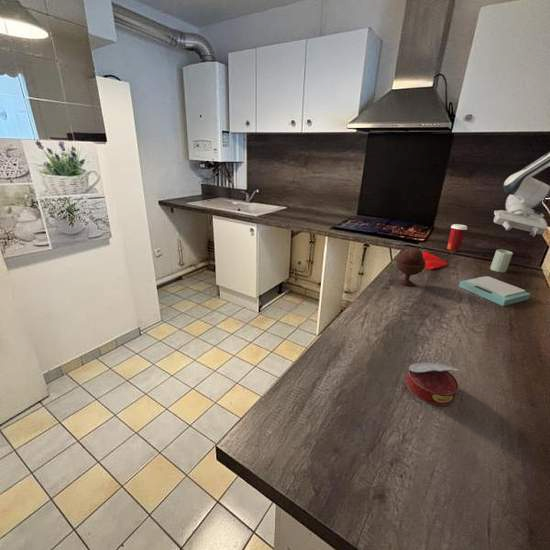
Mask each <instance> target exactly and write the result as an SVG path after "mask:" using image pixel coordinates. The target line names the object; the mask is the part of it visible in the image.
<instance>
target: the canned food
mask: <svg viewBox="0 0 550 550" xmlns="http://www.w3.org/2000/svg"><path fill="white" fill-rule="evenodd" d="M459 371H460V369H458V368H456V367H452V366H450V365H445V364H441V363H433V362H423V361H422V362H421V361H420V362H415V363H412V364H410V365H409V367H408V372H407V374H406V375H407V376H406V378H405V383H406V386H407V388H408V389H409V391H410V392H411V393H412V394H413V395H414V396H415V397H417V398H418V399H420V400H422V401H424V402H426V403H428V404H431V405H436V406H447V405H449V404H451V403H453V402H454V400H455V398H456V395H457V392H458V390H459V383H458V381H457V379H456V377H455V376H454V375H453V374H452V373H451V372H459Z"/></svg>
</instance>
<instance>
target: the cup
mask: <svg viewBox="0 0 550 550" xmlns="http://www.w3.org/2000/svg"><path fill="white" fill-rule="evenodd" d="M513 254H514V252H512V251H510V250H506V249H496V250H495V252H494V256H493V258H492V262H491V264H490V267H489V269H490V270H491V271H493V272H497V273H507V270H508V268H509V265H510V263H511V259H512V257H513Z"/></svg>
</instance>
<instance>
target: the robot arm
mask: <svg viewBox="0 0 550 550" xmlns="http://www.w3.org/2000/svg"><path fill="white" fill-rule="evenodd" d="M549 167H550V151H548V152H547V153H545V154H543V155H542V156H541V157H539V158H538V159H536V160H534V161H533V162H531V163H530V164H528V165H526V166H525V167H523V168H522V169H520V170H517V171H515V172H514V173H512V174H511V175H509V176H508V177H507V178H506V179H505V180H504V182H503V184H502V185H503V187H502V188H503V192H504V193H505V194H507V195H508V196H507V198H506V200H505V210H503V209H498V210H497V209H496V210H493V214H494V216H493V223H494V224H497V225H501V226H503V228H504V229H505V231H511V230H512V229H517V230H521V231H525V232H529V236H530V237H533V238H534V237H536V235H537V234H538V235H543V234H544V233H545V232H546V231H545V229H546V228H547V227H548V223H547V221H546V219H545V218H544V217H545V215H544V214H543V213H541V212H539V211H537V210H535V209H534V208H537V207H539V206H540V205H542V204H543V203H545V202H546V201H547V200H548V199H545V198H549V197H550V185H549V184H546V182H544V181H541V180H538V179H536V178H534V176H535V175H537V174H539V173H540V172H542V171H544V170H545V169H547V168H549ZM542 199H544V200H543V203H542ZM547 229H548V228H547ZM544 231H545V232H544Z"/></svg>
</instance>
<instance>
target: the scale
mask: <svg viewBox="0 0 550 550" xmlns="http://www.w3.org/2000/svg"><path fill="white" fill-rule="evenodd" d="M459 281H460V282H459V285H458V287H459V288H460V289H463V290H465V291H467V292H469V293H473V294H474V295H477V296H479V297H481V298H483V299H485V300H489V301H490V302H492V303H495V304H497V305H499V306H502V307H505V306H510V305H513V304H517V303H520V302H524V301H528V300H529V299H530V297H531V293H530V292H527V291H526V290H525V289H523V288H520V287H518V286H515V285H512V284H510V283H507V282H504V281H502V280H499V279H496V278H494V277H491V276H489V275H486V276H485V275H483V276H480V277H474V278H470V279H465V280H459Z"/></svg>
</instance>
